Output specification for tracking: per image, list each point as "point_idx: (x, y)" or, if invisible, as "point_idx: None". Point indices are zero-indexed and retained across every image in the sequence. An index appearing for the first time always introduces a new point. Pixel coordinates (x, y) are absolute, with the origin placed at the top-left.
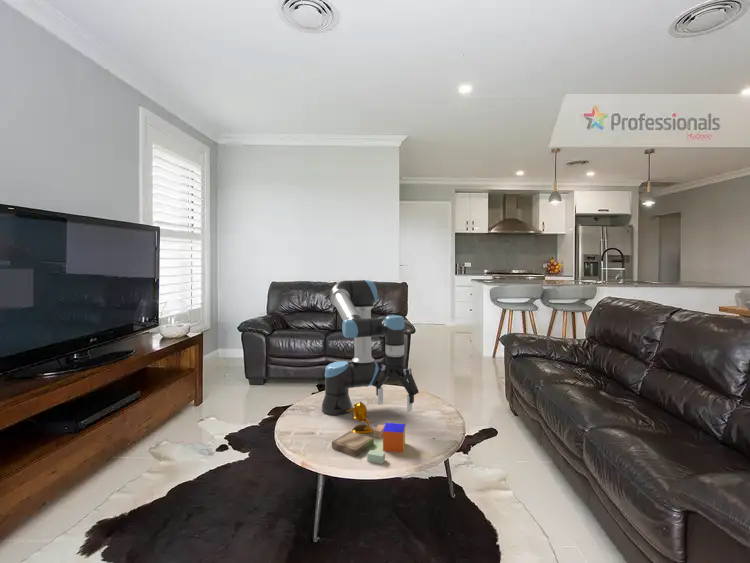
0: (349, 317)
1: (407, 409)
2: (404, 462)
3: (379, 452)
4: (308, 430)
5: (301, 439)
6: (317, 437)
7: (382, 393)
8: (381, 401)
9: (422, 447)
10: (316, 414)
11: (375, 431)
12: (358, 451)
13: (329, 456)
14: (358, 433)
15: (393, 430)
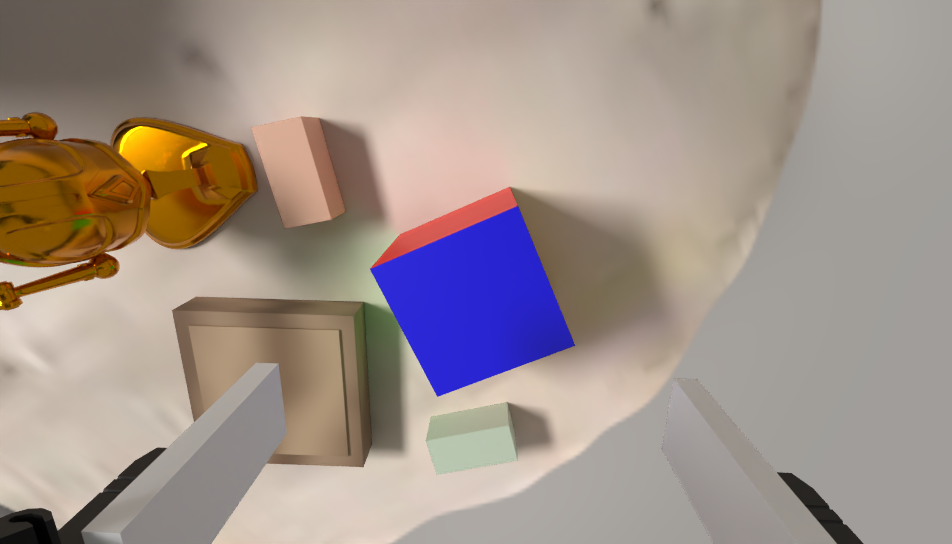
0: None
1: (678, 468)
2: (603, 375)
3: (482, 436)
4: None
5: (36, 447)
6: (72, 393)
7: (203, 463)
8: (267, 410)
9: (630, 180)
10: None
11: (298, 224)
12: (366, 438)
13: (273, 496)
14: (201, 240)
15: (494, 351)
